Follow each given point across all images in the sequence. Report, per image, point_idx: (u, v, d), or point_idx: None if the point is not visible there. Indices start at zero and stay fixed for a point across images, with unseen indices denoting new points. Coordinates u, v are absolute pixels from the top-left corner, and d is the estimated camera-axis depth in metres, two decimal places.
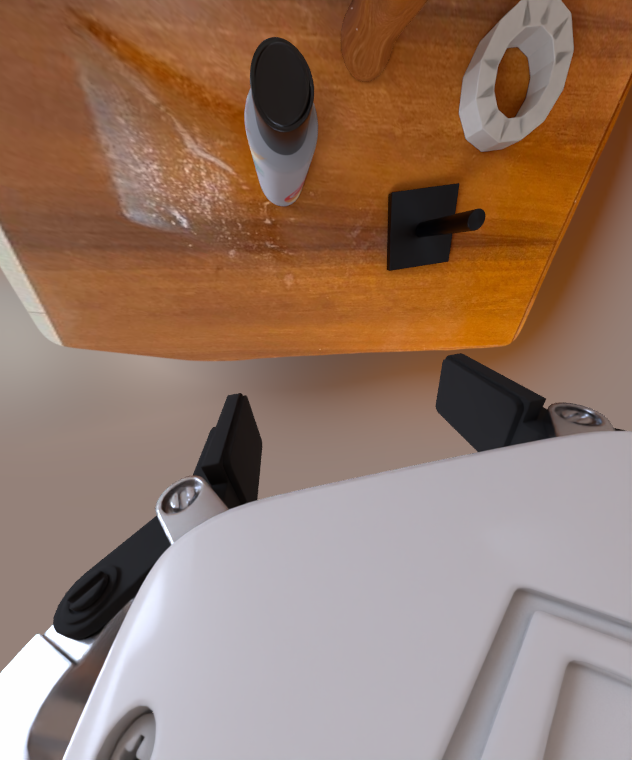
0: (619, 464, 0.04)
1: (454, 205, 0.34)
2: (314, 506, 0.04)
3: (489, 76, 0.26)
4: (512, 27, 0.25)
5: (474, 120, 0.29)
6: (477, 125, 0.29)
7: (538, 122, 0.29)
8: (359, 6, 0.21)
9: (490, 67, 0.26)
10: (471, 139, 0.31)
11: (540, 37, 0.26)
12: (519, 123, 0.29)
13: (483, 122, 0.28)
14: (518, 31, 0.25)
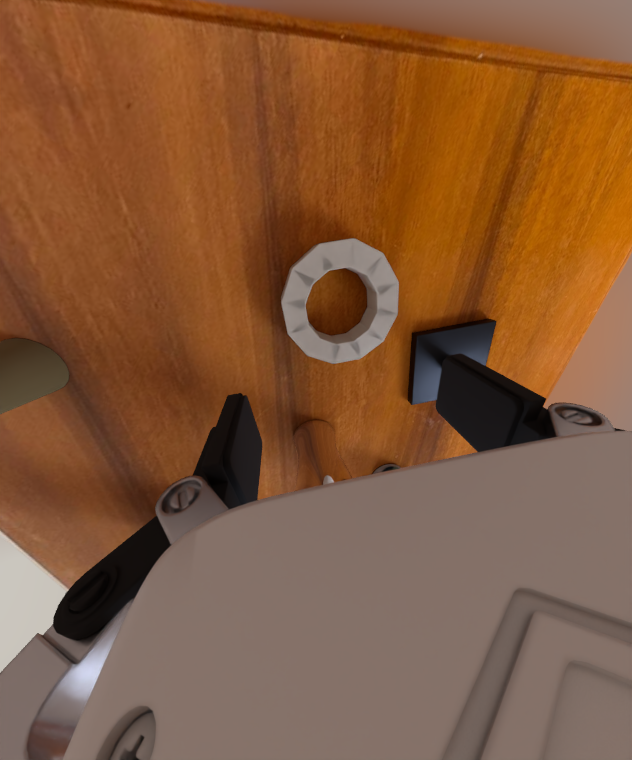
0: (619, 464, 0.04)
1: (437, 334, 0.27)
2: (314, 506, 0.04)
3: (344, 350, 0.24)
4: (310, 340, 0.23)
5: None
6: None
7: (383, 262, 0.21)
8: None
9: (338, 352, 0.24)
10: None
11: None
12: (383, 292, 0.22)
13: (378, 342, 0.24)
14: (312, 331, 0.23)
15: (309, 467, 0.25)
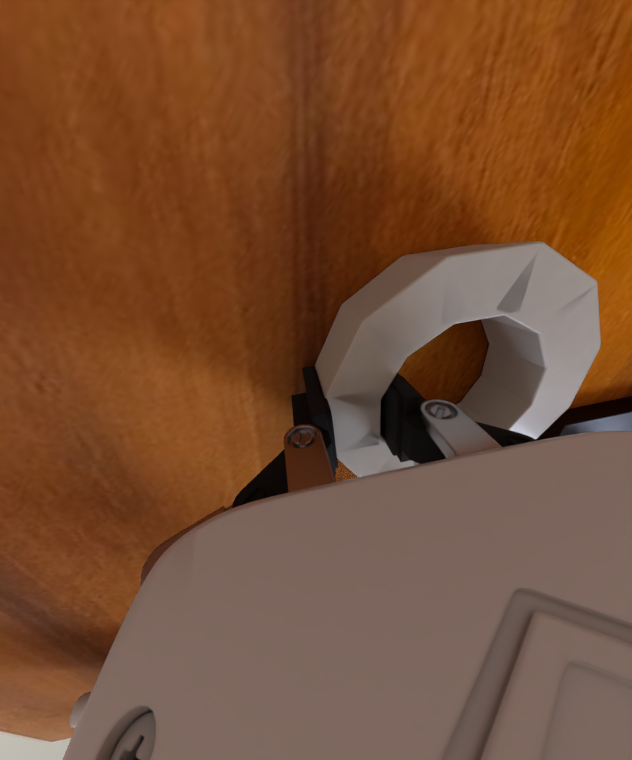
0: (619, 464, 0.04)
1: (600, 421, 0.14)
2: (314, 506, 0.04)
3: None
4: (379, 462, 0.11)
5: None
6: None
7: (589, 304, 0.08)
8: None
9: None
10: None
11: None
12: (559, 369, 0.09)
13: None
14: (386, 447, 0.10)
15: None
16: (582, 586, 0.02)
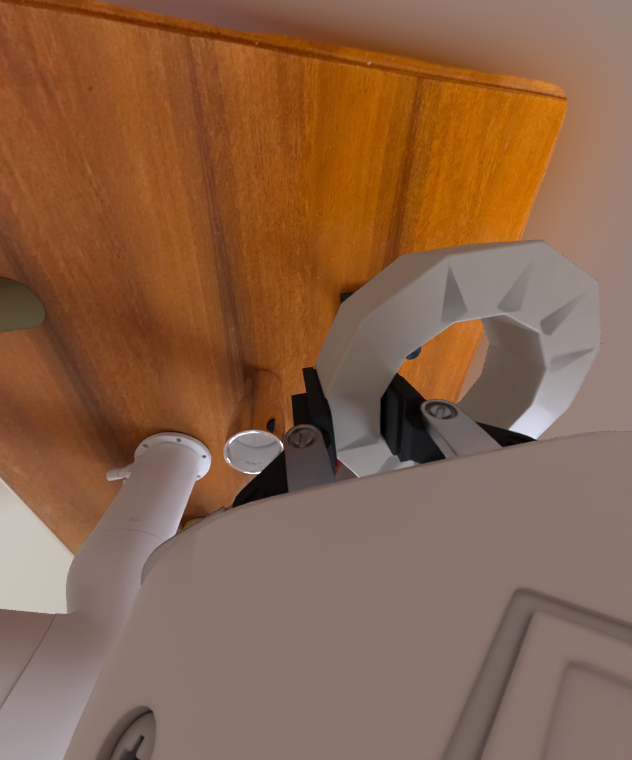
0: (619, 464, 0.04)
1: None
2: (314, 506, 0.04)
3: None
4: (378, 461, 0.11)
5: None
6: None
7: (589, 303, 0.08)
8: None
9: None
10: None
11: None
12: (559, 368, 0.09)
13: None
14: (386, 446, 0.10)
15: (245, 398, 0.30)
16: (582, 586, 0.02)
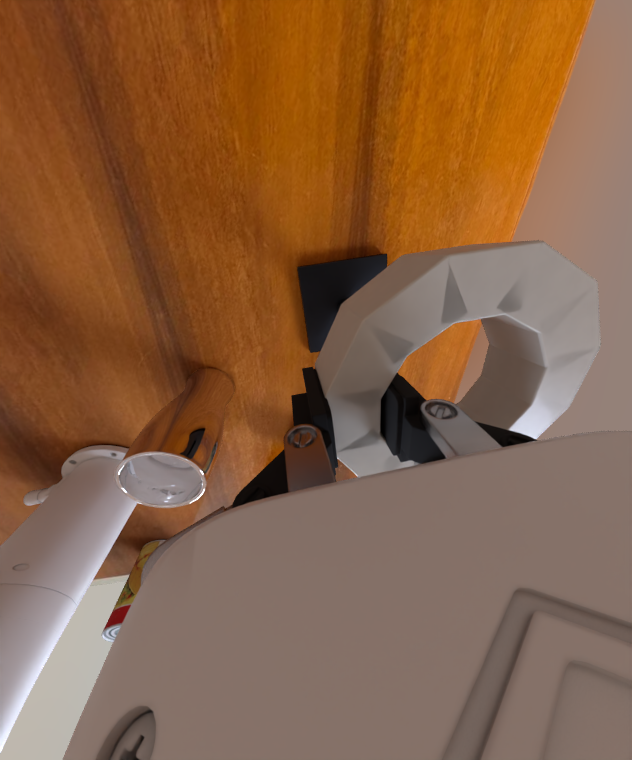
0: (619, 464, 0.04)
1: (321, 267, 0.25)
2: (314, 506, 0.04)
3: None
4: (378, 461, 0.11)
5: None
6: None
7: (588, 304, 0.08)
8: None
9: None
10: None
11: None
12: (559, 368, 0.09)
13: None
14: (386, 447, 0.10)
15: (167, 404, 0.23)
16: (582, 586, 0.02)
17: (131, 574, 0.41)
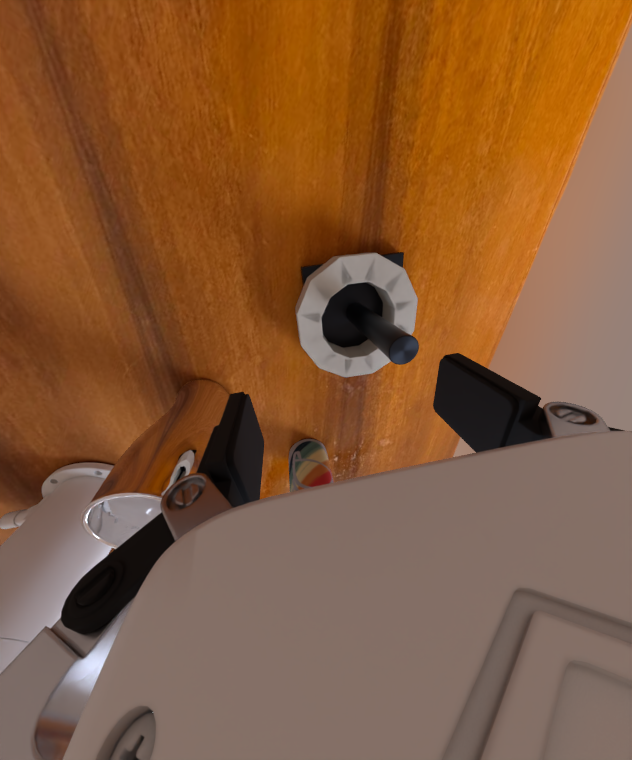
0: (619, 464, 0.04)
1: None
2: (314, 506, 0.04)
3: (357, 364, 0.24)
4: (323, 353, 0.23)
5: None
6: None
7: (404, 278, 0.20)
8: None
9: (350, 366, 0.24)
10: None
11: None
12: (401, 308, 0.22)
13: None
14: (326, 344, 0.22)
15: (152, 425, 0.20)
16: (582, 586, 0.02)
17: None
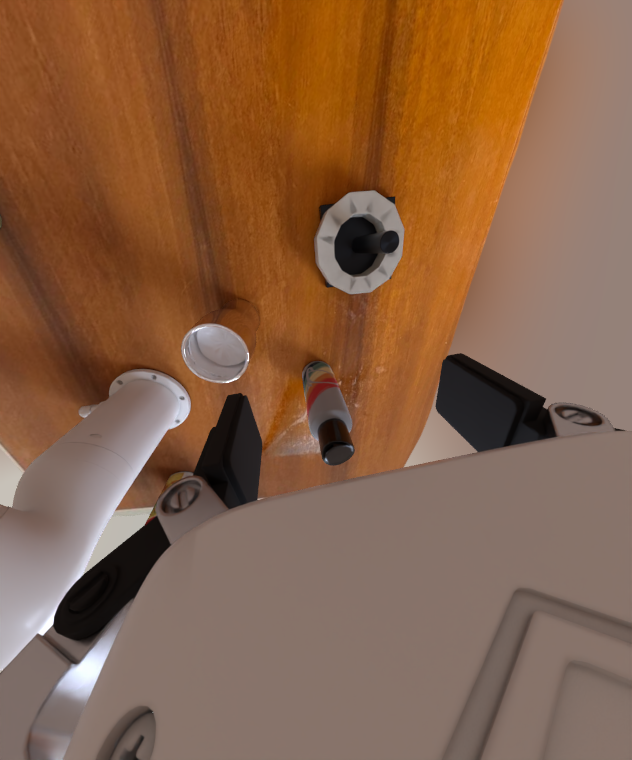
0: (619, 464, 0.04)
1: None
2: (314, 506, 0.04)
3: (359, 283, 0.32)
4: (334, 271, 0.31)
5: None
6: None
7: (394, 212, 0.28)
8: None
9: (354, 284, 0.32)
10: None
11: None
12: None
13: (385, 279, 0.32)
14: (337, 264, 0.30)
15: None
16: (582, 586, 0.02)
17: None
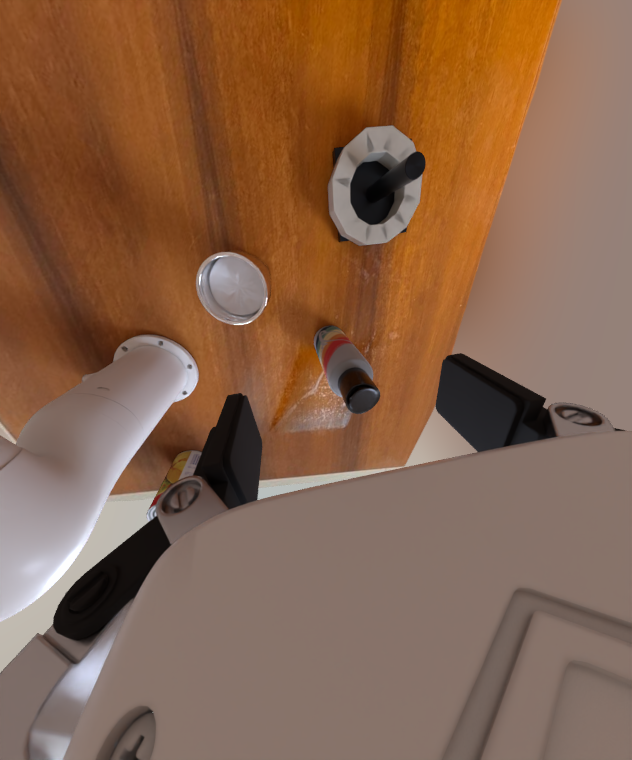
0: (620, 464, 0.04)
1: None
2: (314, 506, 0.04)
3: (375, 232, 0.31)
4: (350, 218, 0.29)
5: None
6: (400, 230, 0.31)
7: (412, 151, 0.27)
8: None
9: (370, 233, 0.31)
10: None
11: None
12: None
13: (402, 228, 0.31)
14: (352, 210, 0.29)
15: None
16: (582, 586, 0.02)
17: (168, 473, 0.45)
